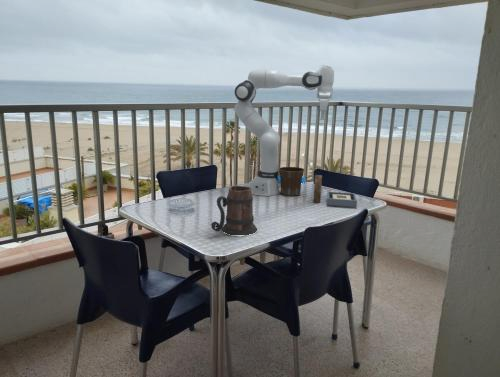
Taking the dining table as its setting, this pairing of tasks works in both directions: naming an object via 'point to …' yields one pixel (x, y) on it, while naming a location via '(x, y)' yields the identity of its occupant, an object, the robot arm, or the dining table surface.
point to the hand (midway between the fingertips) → (322, 119)
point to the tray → (341, 200)
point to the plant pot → (291, 180)
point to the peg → (317, 188)
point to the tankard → (236, 212)
